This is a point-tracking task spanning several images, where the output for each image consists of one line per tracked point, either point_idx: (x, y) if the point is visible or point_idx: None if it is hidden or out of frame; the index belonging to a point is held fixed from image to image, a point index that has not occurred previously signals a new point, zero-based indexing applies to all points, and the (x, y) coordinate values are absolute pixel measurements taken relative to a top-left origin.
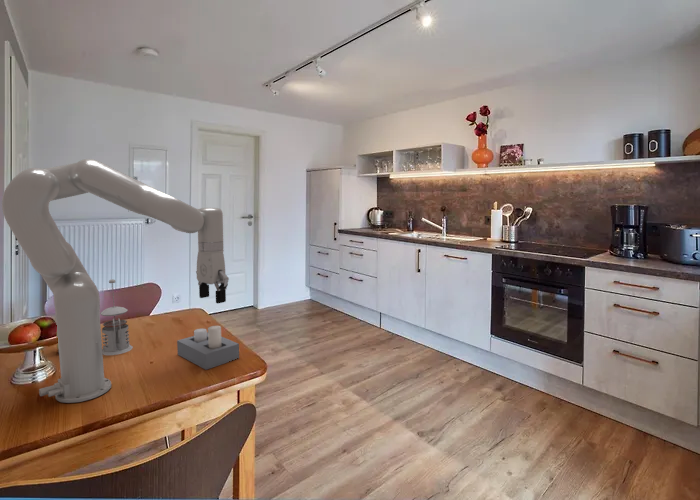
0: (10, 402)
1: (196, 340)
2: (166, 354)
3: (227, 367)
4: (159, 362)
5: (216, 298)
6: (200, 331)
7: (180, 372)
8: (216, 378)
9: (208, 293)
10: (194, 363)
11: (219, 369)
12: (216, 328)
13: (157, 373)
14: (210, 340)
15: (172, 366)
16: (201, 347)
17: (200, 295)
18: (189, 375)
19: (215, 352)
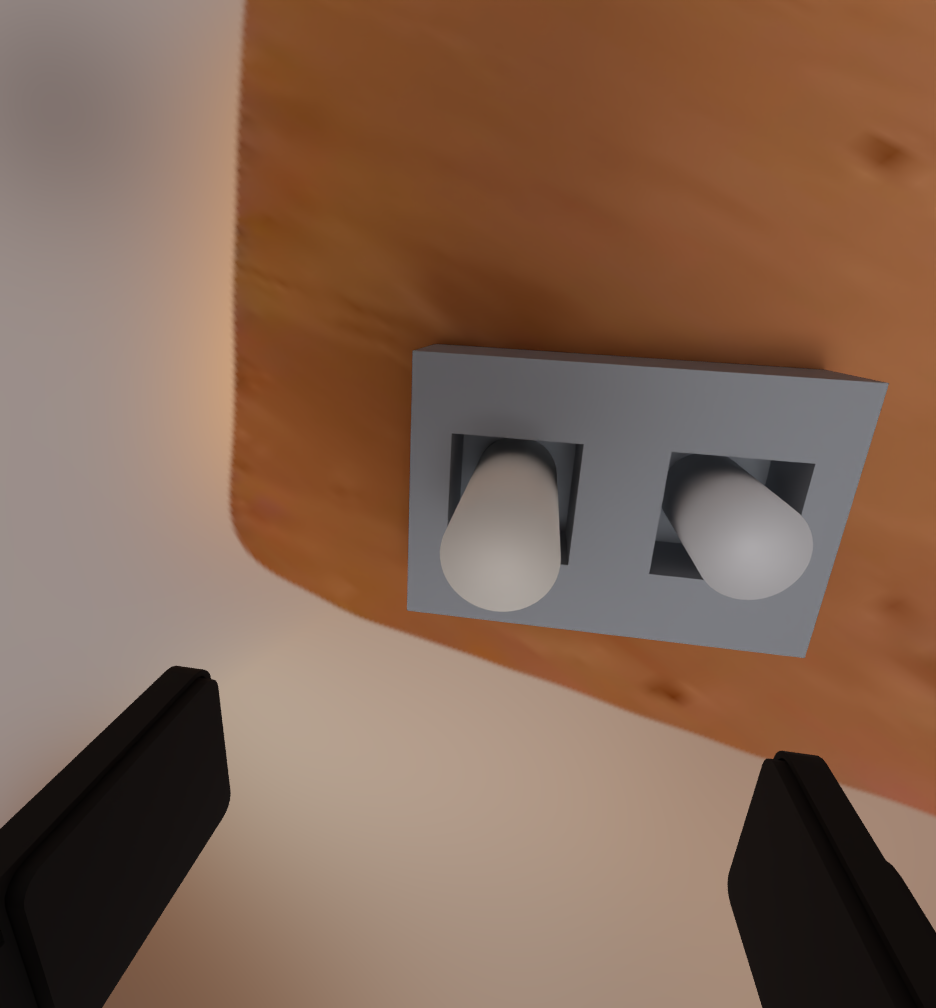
0: None
1: (720, 477)
2: (914, 318)
3: (370, 445)
4: (825, 198)
5: (113, 724)
6: (727, 535)
7: (533, 209)
8: (287, 312)
9: (749, 940)
10: (579, 353)
11: (381, 399)
12: (465, 555)
13: (655, 80)
14: (494, 471)
15: (670, 226)
16: (559, 415)
17: (805, 794)
18: (445, 225)
19: (412, 431)
